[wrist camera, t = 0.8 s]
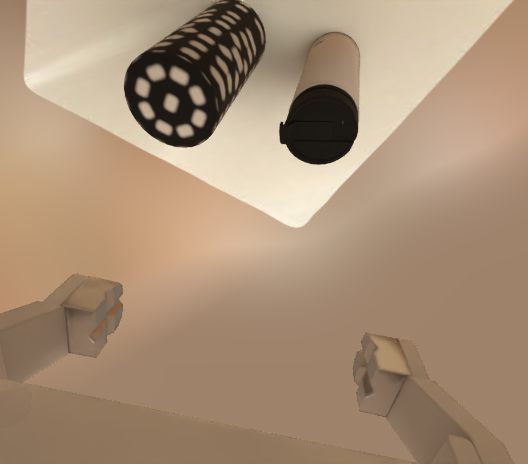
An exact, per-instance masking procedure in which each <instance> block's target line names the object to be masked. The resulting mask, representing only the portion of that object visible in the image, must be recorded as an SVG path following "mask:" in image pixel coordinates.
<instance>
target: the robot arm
mask: <svg viewBox="0 0 528 464" xmlns="http://www.w3.org/2000/svg"><path fill="white" fill-rule="evenodd" d="M122 294H123V289H122V285H121V284H120V283H118V282H113V281H109V280H104V279H100V278H95V277H90V276H85V275H81V274H73V275H72V276H71V277H69V278H68V279H67V280H66V281H65V282H64V283H63V284H62V285H61V286H60V287H58V289H56V290H55V291H54V292H53V293H52V294H51V295H50V296H49V297H48V298H47V299H45V300H44V301H43V302H39V301H37V302H34V303H31V304H28V305H25V306H22V307H19V308H16V309H13V310H10V311H7V312H4V313H1V314H0V464H514V462H513V460H512V458H511V457H510V455H509V453H508V451H507V449H506V447H505V445H504V444H503V443H502V442H501V441H500V440H499V439H498V438H496V437H495V436H494V435H493V434H492V433H491V432H490V431H489V430H487V429H486V428H485V427H484V426H483V425H482V424H481V423H480V422H479V421H478V420H477V419H476V418H474V417H473V416H472V415H471V414H470V413H469V412H468V411H467V410H466V409H465V408H464V407H462V406H461V405H460V404H459V403H458V402H457V401H456V400H455V399H453V397H451V396H450V395H449V394H448V393H447V392H446V391H445V390H444V389H443V388H442V387H440V386H439V385H438V384H437V383H436V382H435V381H431V380H430V379H429V377H428V375H427V372H426V370H425V367H424V365H423V363H422V360H421V358H420V355H419V353H418V351H417V348H416V346H415V344H414V343H413V342H412V341H410V340H405V339H399V338H391V337H386V336H381V335H376V334H370V333H365V335H364V336H363V338H362V341H361V343H362V349H361V350H359V351H358V352H357V354H356V357H355V359H354V366H353V376H354V381H355V383H356V384H357V385H358V386H359V388H358V390H357V392H356V394H357V399H358V405H359V411H361V412H365V413H370V414H374V415H378V416H383V417H387V418H386V419H387V420H388V422H389V423H390V424H391V426H392V427H393V429H394V430H395V431H396V433H397V434H398V436H399V437H400V439H401V440H402V442H403V443H404V444H405V446H406V447H407V449H408V450H409V451H410V453H411V454H412V455H413V457H414V458H415V460H416V461H417V463H415V462H410V461H405V460H400V459H396V458H390V457H386V456H381V455H375V454H371V453H366V452H361V451H356V450H351V449H346V448H341V447H335V446H331V445H326V444H321V443H317V442H311V441H307V440H302V439H297V438H292V437H287V436H283V435H278V434H273V433H268V432H263V431H258V430H253V429H248V428H243V427H238V426H233V425H229V424H224V423H219V422H214V421H209V420H204V419H199V418H194V417H189V416H184V415H179V414H175V413H170V412H164V411H160V410H155V409H150V408H145V407H140V406H135V405H130V404H125V403H120V402H116V401H110V400H106V399H101V398H96V397H91V396H86V395H81V394H76V393H71V392H66V391H61V390H56V389H52V388H47V387H42V386H37V385H32V384H27V383H22V382H23V381H25V380H27V379H28V378H30V377H32V376H33V375H35V374H37V373H38V372H40V371H42V370H43V369H45V368H47V367H49V366H50V365H52V364H53V363H55V362H57V361H59V360H60V359H62V358H64V357H65V356H67V355H68V354H69V353H72V354H78V355H83V356H89V357H95V358H96V357H97V356H98V354H99V353H100V351H101V350H102V349H103V347H104V346H105V344H106V343H107V335H110V334H111V333H114V331H115V330H116V328H117V327H118V325H119V323H120V320H121V317H122V311H123V304H122V303H121V301H120V300H119V298H120V297H121V295H122Z"/></svg>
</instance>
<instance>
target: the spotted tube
mask: <svg viewBox="0 0 528 464" xmlns="http://www.w3.org/2000/svg"><path fill="white" fill-rule="evenodd" d="M265 43H266V41H265V31H264V27H263V25H262V22H261V20H260V18H259V17H258V15H257V14H256V12H255V11H254V10H253V9H252V8H251V7H249V6H248V5H247V4H245V3H243V2H241V1H238V0H222V1H219V2H217V3H215V4H214V5H212V6H211V7H209V8H208V9H206V10H205V11H203V12H202V13H201V14H199V15H198V16H196V17H195V18H193V19H192V20H190V21H189V22H187V23H186V24H184V25H183V26H182V27H180V28H179V29H177V30H176V31H174V32H173V33H171V34H170V35H168V36H167V37H165V38H164V39H163V40H161V41H160V42H158V43H157V44H155V45H154V46H152V47H151V48H149V49H148V50H146V51H145V52H144V53H142V54H141V55H139V56H138V57H137V58H136V59H135V60H134V61H132V63H131V64H130V66H129V68H128V69H127V72H126V75H125V81H124V91H125V97H126V101H127V104H128V107H129V109H130V111H131V113H132V115H133V116H134V118H135V119H136V121H137V122H138V124H139V125H140V126H141V127H142V128H143V129H144V130H145V131H146V132H147V133H149V134H150V135H151V136H152V137H154V138H155V139H157V140H159V141H160V142H163V143H165V144H167V145H171V146H175V147H183V148H186V147H193V146H196V145H199V144H201V143H203V142H204V141H206V140H207V139H208V138H209V137H210V136H211V135H212V134H213V132H214V130H215V129H216V127H217V126H218V124H219V123H220V121H221V120H222V118H223V117H224V115H225V113H226V112H227V110H228V109H229V107H230V106H231V104H232V103H233V101H234V100H235V98H236V96H237V95H238V93H239V92H240V90H241V89H242V87H243V86H244V84H245V83H246V81H247V79H248V78H249V76H250V75H251V73H252V72H253V70H254V69H255V67H256V66H257V64H258V62H259V61H260V59H261V57H262V56H263V53H264V50H265Z"/></svg>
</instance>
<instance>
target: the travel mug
mask: <svg viewBox="0 0 528 464" xmlns="http://www.w3.org/2000/svg"><path fill="white" fill-rule="evenodd" d="M359 71H360V54H359V49H358V47H357V45H356V43H355V41H354V40H353V39H352V38H351V37H349V36H348V35H346V34H343V33H340V32H332V33H328V34H325V35H323V36H321V37H320V38H319V39H318V40H316V42H315V43H314V44H313V45H312V47H311V49H310V52H309V55H308V57H307V60H306V63H305V66H304V69H303V72H302V75H301V77H300V80H299V83H298V86H297V89H296V92H295V95H294V97H293V100H292V103H291V106H290V109H289V114H288V117H287V120H286V122H285V124H284V125H283V122H281V123H280V129H279V134H280V143H281V144H286V145H287V147H288V149H289V151H290V152H291V153H292V154H293V155H294V156H295V157H296V158H298V159H299V160H301V161H303V162H306V163H310V164H317V165H320V164H328V163H332V162H334V161H336V160H339V159H340V158H342V157H343V156H345V155H346V154H347V153H348V152H349V151H350V149H351V147H352V145H353V143H354V141H355V139H356V137H357V133H358V122H359Z"/></svg>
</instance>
